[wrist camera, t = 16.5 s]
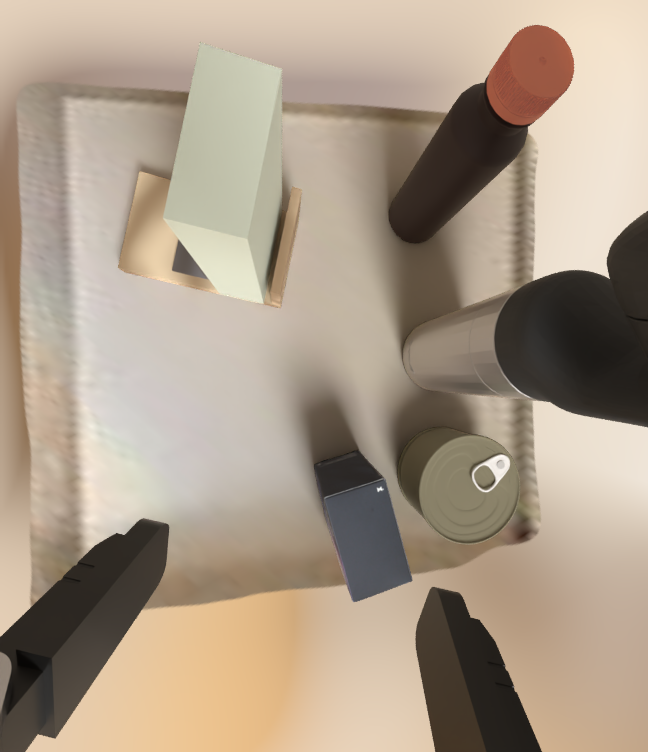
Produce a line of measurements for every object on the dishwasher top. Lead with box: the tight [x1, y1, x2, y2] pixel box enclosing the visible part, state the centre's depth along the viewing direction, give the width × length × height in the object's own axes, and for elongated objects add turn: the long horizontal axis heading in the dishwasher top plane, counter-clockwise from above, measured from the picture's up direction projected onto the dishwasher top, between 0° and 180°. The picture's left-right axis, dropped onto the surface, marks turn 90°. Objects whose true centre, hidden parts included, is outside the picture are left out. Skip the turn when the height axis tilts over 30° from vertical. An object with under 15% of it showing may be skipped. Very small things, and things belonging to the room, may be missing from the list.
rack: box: [118, 171, 302, 308], centre depth 33 cm, size 18×11×6 cm, turn 78°
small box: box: [314, 450, 412, 602], centre depth 33 cm, size 11×6×10 cm, turn 15°
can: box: [397, 427, 520, 545], centre depth 37 cm, size 12×12×7 cm
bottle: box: [389, 25, 574, 243], centre depth 30 cm, size 7×7×20 cm
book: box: [163, 42, 282, 304], centre depth 27 cm, size 5×11×17 cm, turn 169°
